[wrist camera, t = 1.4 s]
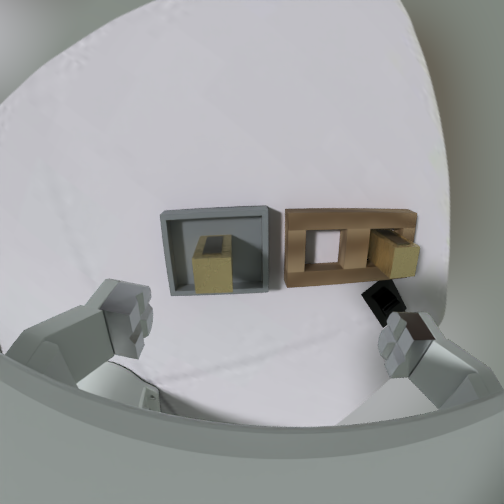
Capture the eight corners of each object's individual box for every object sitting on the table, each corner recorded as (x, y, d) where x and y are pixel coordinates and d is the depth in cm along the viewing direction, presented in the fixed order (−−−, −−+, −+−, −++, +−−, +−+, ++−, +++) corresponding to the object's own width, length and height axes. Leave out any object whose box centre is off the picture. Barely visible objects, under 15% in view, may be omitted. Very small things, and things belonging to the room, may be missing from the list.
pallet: (399, 270, 40) (406, 277, 38) (284, 279, 39) (287, 287, 37) (407, 209, 36) (417, 213, 34) (285, 208, 36) (288, 213, 33)
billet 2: (386, 254, 39) (414, 276, 31) (364, 255, 39) (389, 278, 31) (390, 227, 37) (420, 245, 30) (366, 228, 37) (395, 246, 30)
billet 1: (232, 263, 37) (232, 292, 30) (202, 264, 37) (195, 293, 29) (231, 233, 36) (230, 255, 28) (200, 234, 35) (191, 257, 28)
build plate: (352, 289, 41) (363, 304, 37) (387, 260, 40) (402, 272, 36) (381, 333, 45) (392, 348, 41) (412, 308, 44) (425, 321, 39)
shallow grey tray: (266, 283, 39) (268, 292, 37) (174, 287, 38) (170, 295, 36) (265, 205, 35) (268, 209, 33) (164, 210, 35) (159, 215, 32)
